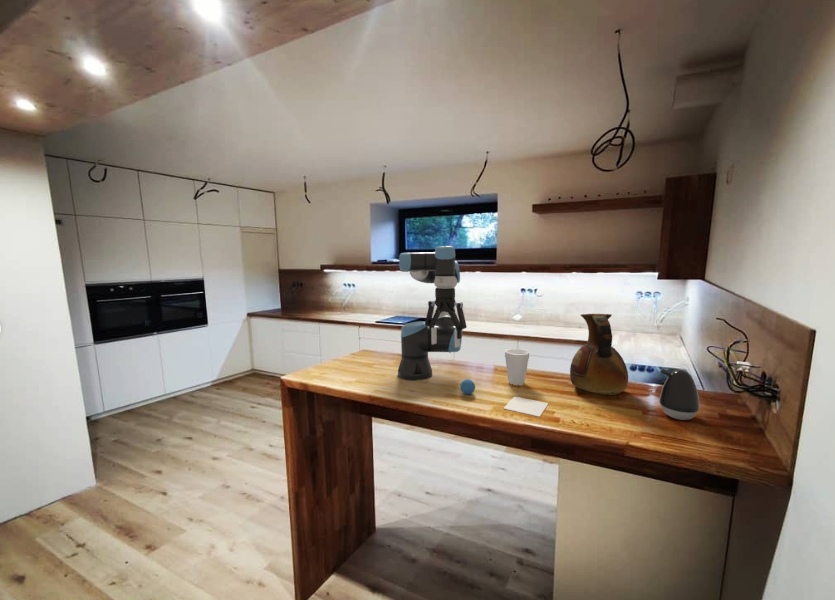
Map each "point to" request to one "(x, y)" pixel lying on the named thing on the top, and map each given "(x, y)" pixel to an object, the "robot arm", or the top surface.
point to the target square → (526, 406)
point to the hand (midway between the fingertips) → (445, 345)
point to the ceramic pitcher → (599, 360)
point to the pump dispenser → (679, 395)
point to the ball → (467, 386)
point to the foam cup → (516, 365)
